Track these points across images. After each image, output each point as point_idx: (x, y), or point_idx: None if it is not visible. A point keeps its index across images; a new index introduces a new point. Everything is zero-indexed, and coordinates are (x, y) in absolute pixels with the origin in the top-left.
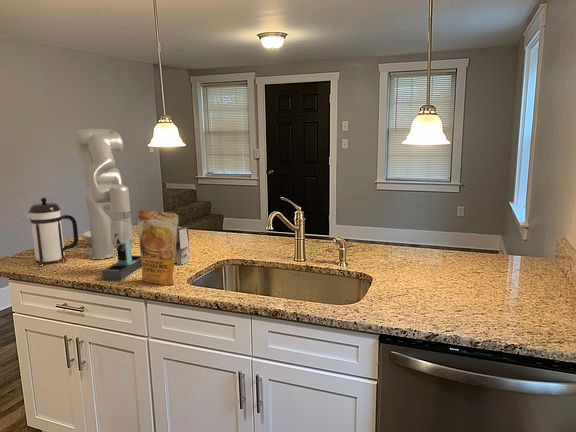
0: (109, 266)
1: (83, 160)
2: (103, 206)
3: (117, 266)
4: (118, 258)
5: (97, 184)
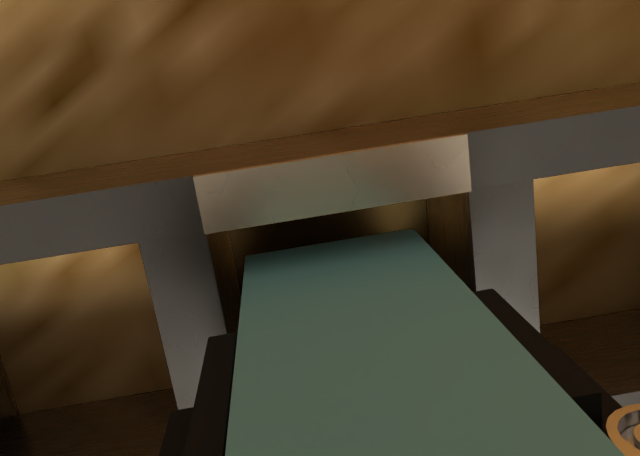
0: (48, 212)
1: None
2: None
3: (160, 308)
4: (208, 361)
5: None
